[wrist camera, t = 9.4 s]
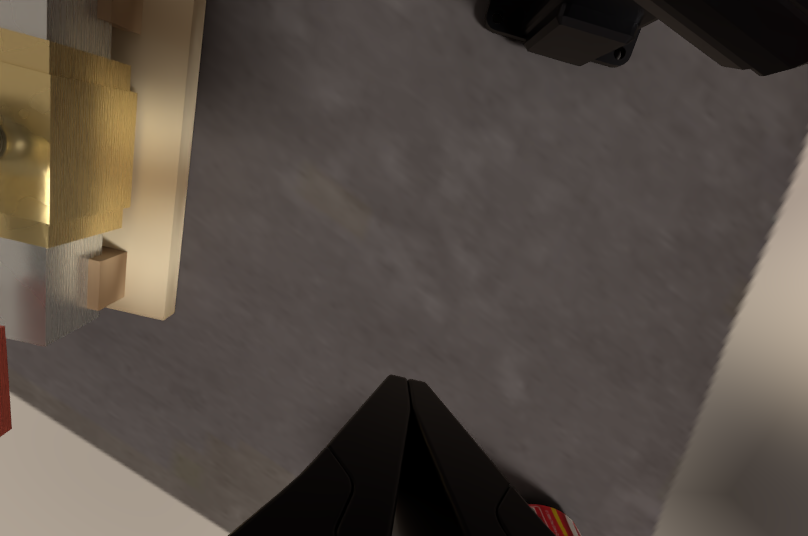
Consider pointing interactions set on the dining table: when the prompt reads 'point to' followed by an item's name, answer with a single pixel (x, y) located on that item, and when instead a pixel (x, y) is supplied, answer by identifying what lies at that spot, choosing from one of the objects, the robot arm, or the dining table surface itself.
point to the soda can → (556, 520)
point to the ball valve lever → (4, 386)
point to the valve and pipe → (58, 161)
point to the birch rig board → (152, 154)
